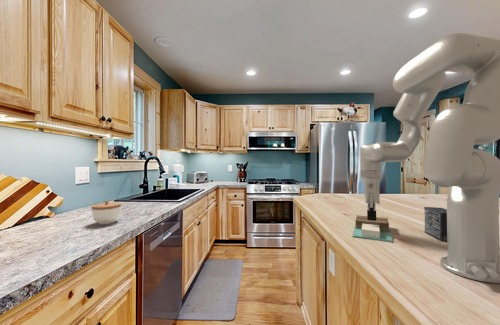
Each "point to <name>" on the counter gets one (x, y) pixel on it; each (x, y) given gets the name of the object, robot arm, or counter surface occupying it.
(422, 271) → the counter surface
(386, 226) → the walnut riser
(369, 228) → the cream tile
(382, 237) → the teal mat
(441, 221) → the small box
